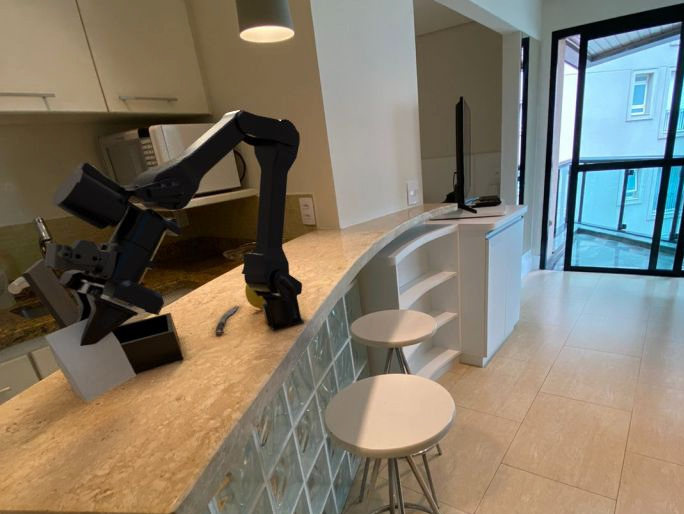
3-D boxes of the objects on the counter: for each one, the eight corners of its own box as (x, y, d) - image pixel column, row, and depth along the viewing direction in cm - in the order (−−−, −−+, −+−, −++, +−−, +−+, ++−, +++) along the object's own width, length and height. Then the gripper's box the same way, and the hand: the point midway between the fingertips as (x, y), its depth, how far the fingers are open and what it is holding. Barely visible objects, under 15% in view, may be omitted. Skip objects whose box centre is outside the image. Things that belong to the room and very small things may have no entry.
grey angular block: (136, 375, 60) (105, 315, 56) (87, 402, 55) (49, 339, 51) (124, 370, 62) (94, 312, 58) (76, 396, 57) (39, 334, 53)
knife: (229, 330, 83) (213, 332, 82) (229, 333, 83) (214, 335, 82) (238, 304, 98) (225, 306, 97) (238, 307, 98) (225, 309, 98)
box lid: (43, 258, 69) (14, 268, 68) (27, 272, 60) (-8, 284, 58) (92, 328, 76) (66, 339, 74) (84, 351, 66) (54, 364, 65)
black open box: (179, 338, 84) (170, 312, 81) (183, 359, 74) (173, 331, 72) (102, 359, 78) (91, 331, 76) (96, 385, 68) (83, 355, 66)
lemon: (267, 313, 91) (259, 279, 88) (245, 314, 93) (237, 280, 89) (278, 304, 96) (271, 272, 93) (257, 305, 98) (249, 273, 94)
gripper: (46, 215, 58) (-14, 316, 54) (104, 215, 48) (35, 339, 44) (124, 254, 67) (77, 342, 63) (187, 261, 56) (135, 368, 53)
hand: (80, 347), depth 55 cm, fingers closed on grey angular block
